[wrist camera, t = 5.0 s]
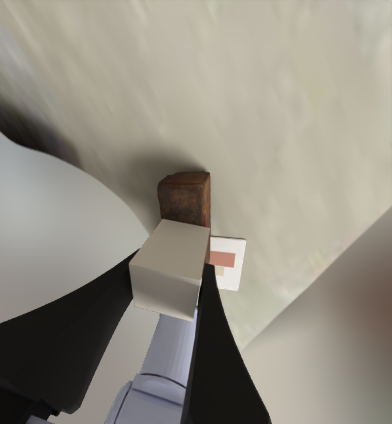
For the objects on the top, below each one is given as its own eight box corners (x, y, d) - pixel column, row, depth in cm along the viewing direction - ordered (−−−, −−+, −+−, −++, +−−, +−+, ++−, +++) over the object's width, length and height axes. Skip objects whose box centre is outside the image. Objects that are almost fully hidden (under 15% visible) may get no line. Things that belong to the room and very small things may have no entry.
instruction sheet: (237, 289, 22) (238, 291, 22) (196, 283, 23) (196, 285, 23) (246, 239, 18) (246, 240, 17) (195, 234, 19) (195, 235, 19)
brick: (173, 171, 16) (152, 183, 11) (211, 171, 15) (204, 184, 11) (181, 252, 20) (169, 281, 16) (211, 255, 19) (206, 287, 15)
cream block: (203, 263, 14) (193, 321, 10) (162, 254, 15) (134, 306, 10) (210, 228, 12) (200, 280, 8) (162, 218, 13) (128, 263, 8)
